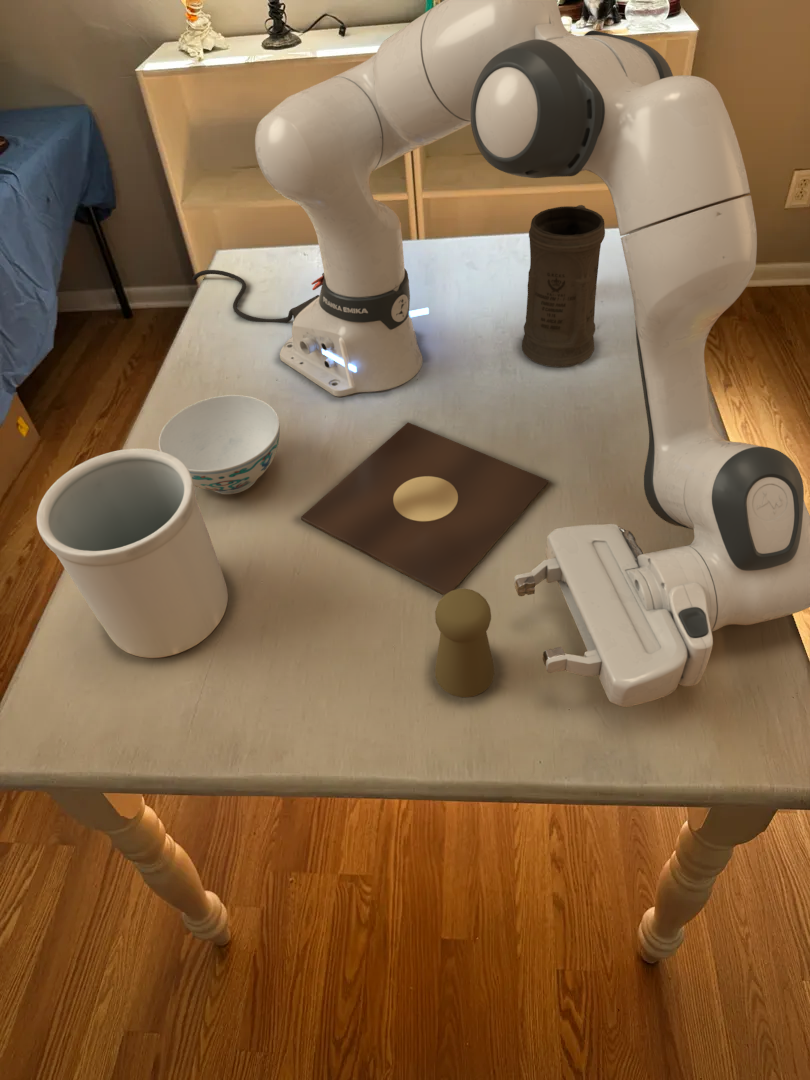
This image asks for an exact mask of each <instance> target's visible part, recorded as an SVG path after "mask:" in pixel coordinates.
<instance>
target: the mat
mask: <svg viewBox="0 0 810 1080" xmlns="http://www.w3.org/2000/svg"><path fill="white" fill-rule="evenodd" d="M549 483H550V480H549V479H546V478H543V477H541V476H539V475H536V474H535V473H532V472H531V471H527V470H525V469H522V468H520V467H517V466H515V465H513V464H510V463H508V462H505V461H503V460H501V459H498V458H496V457H493V456H491V455H488V454H486V453H484V452H481V451H478V450H476V449H474V448H473V447H472V448H471V447H469V446H467V445H464V444H462V443H459V442H458V441H454V440H452V439H450V438H448V437H444V436H442V435H440V434H437V433H435V432H433V431H430V430H428V429H426V428H423V427H420V426H419V425H416V424H413V423H411V422H406V423H405V424H404V425H402V427H401V428H400V429H398V431H396V432H395V433H393V435H392V436H391V437H389V438H388V439H387V440H386V441H385V442H384V443H382V445H380V446H379V447H378V448H377V449H376V450H375V451H374V452H373V453H371V454H370V455H369V456H368V457H367V458H366V459H365V460H364V461H362V462H361V463H360V464H359V465H358V466H356V468H354V469H353V470H352V471H351V472H350V473H348V475H347V476H345V477H344V478H343V479H342V480H341V481H340V482H338V484H337V485H335V486H334V487H333V488H332V489H330V490H329V491H328V492H327V493H326V494H325V495H323V497H321V499H319V500H318V501H317V502H316V503H315V504H314V505H312V506H311V507H310V508H309V509H308V510H307V511H306V512H305V513H304V514H302V515H301V516H300V520H301V521H302V522H304V523H306V524H308V525H310V526H312V527H314V528H316V529H318V530H319V531H321V532H323V533H325V534H327V535H329V536H331V537H333V538H334V539H337V540H338V541H340V542H342V543H344V544H346V545H348V546H350V547H352V548H353V549H356V550H357V551H359V552H361V553H363V554H365V555H367V556H369V557H371V558H373V559H375V560H376V561H378V562H380V563H382V564H384V565H386V566H388V567H389V568H391V569H394V570H395V571H397V572H399V573H401V574H403V575H404V576H407V577H409V578H411V579H413V580H414V581H416V582H418V583H420V584H422V585H424V586H426V587H428V588H430V589H431V590H433V591H435V592H437V593H439V594H441V595H443V596H444V595H445V594H447V593H449V592H450V591H452V590H456V589H457V587H458V586H459V585H460V584H461V583H462V582H463V580H465V578H466V577H467V576H468V575H469V574H470V572H471V571H473V569H474V568H475V567H476V566H477V565H478V563H480V562H481V560H482V559H483V558H484V557H485V556H486V555H487V554H488V553H489V552H490V550H491V549H492V548H493V547H494V546H495V544H496V543H497V542H498V541H499V540H500V539H501V537H503V535H505V533H506V532H507V531H508V530H509V529H510V528H511V527H512V525H514V523H515V522H516V521H517V520H518V519H519V517H520V516H521V515H522V514H523V513H524V512H525V510H526V509H528V508H529V506H530V505H531V504H532V503H533V502H534V501H535V500H536V498H538V496H539V495H540V494H541V492H542V491H543V490H544V489H545V488H546V487H547V486H548V485H549Z"/></svg>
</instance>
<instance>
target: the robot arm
mask: <svg viewBox="0 0 810 1080" xmlns="http://www.w3.org/2000/svg"><path fill="white" fill-rule="evenodd" d="M468 126H471V127H470V128H471V132H472V136H473V139H474V142H475V144H476V147H477V150H479V153H480V154H481V156H482V157H483V158H484V160H486V162H487V163H488V164H489V165H490V166H492V167H493V168H495V169H496V170H499V172H503V173H505V174H508V175H512V176H517V177H521V178H529V179H544V178H558V177H561V178H562V177H575V176H577V175H578V174H579V173H581V172H585V171H587V172H590V173H593V174H594V175H596V176H597V177H599V178H600V179H601V180H602V181H603V182H604V184H605V185H606V187H607V189H608V191H609V193H610V196H611V199H612V203H613V208H614V211H615V217H616V221H617V227H618V231H619V232H618V233H619V236H620V242H621V247H622V251H623V256H624V260H625V264H626V270H627V274H628V275H627V276H628V281H629V286H630V290H631V295H632V302H633V313H634V323H635V324H634V325H635V339H636V349H637V356H638V362H639V372H640V378H641V385H642V391H643V392H642V393H643V397H644V398H643V399H644V406H645V412H646V419H647V426H648V448H647V449H648V450H647V455H646V461H645V466H644V473H643V490H644V494H645V498H646V500H647V502H648V504H649V506H650V508H651V509H652V511H653V512H654V513H655V515H656V516H658V517H659V518H660V519H661V520H662V521H664V522H666V523H668V524H670V525H673V526H676V527H679V528H680V527H681V528H684V529H689V530H692V531H693V535H694V538H693V540H692V542H691V543H690V544H687V545H683V546H677V547H676V546H675V547H671V548H667V549H662V550H656V551H650V552H646V553H644V552H643V550H642V548H641V547H640V546H639V544H638V543H637V541H636V538H635V535H634V534H633V532H632V531H630V530H627V529H625V528H624V527H622V526H620V525H618V524H616V523H607V524H580V525H569V526H562V527H557V528H554V529H553V530H552V531H551V532H550V533H549V534H548V535H547V537H546V542H545V543H546V544H545V556H546V559H544V560H542V561H541V562H540V563H538V565H537V566H535V567H534V568H533V569H531V570H530V571H529V572H525V573H518V574H516V575H515V576H514V577H513V586H514V588H515V591H516V593H517V596H519V597H524V596H530V595H535V593H536V586H538V585H539V584H540V583H541V582H542V583H543V581H545V580H546V583H547V584H550V583H554V582H555V583H556V582H557V584H558V586H559V589H560V591H561V594H562V596H563V598H564V600H565V603H566V606H567V607H568V610H569V612H570V615H571V617H572V619H573V621H574V623H575V626H576V628H577V631H578V633H579V635H580V638H581V640H582V642H583V644H584V646H585V649H586V651H585V652H584V654H583V656H582V655H577V654H572V653H571V654H570V653H565V651H564V649H563V646H558V647H554V648H553V649H551V648H548V649H545V650H544V651H543V652H542V661H543V665H544V667H545V670H546V672H547V673H548V674H552V673H556V672H562V671H565V672H566V673H567V672H568V673H571V674H576V675H579V676H582V677H585V678H588V677H593V676H597V677H598V680H599V681H600V683H601V686H602V688H603V690H604V692H605V694H606V697H607V699H608V701H609V702H610V703H612V704H614V705H617V706H620V707H623V708H628V707H633V706H638V705H641V704H646V703H650V702H653V701H655V700H658V699H663V698H665V697H667V696H669V695H671V694H672V693H674V692H675V691H676V690H677V688H678V686H679V685H680V686H682V687H690V686H695V685H698V684H699V683H700V681H701V680H702V678H703V676H704V674H705V671H706V670H707V668H708V664H709V661H710V658H711V655H712V650H713V645H714V638H713V637H714V636H713V632H715V631H717V630H719V629H721V628H723V627H725V626H730V625H740V626H749V625H754V624H759V623H764V622H767V621H768V622H769V621H771V620H776V619H779V618H783V617H786V616H790V615H793V614H796V613H800V612H802V611H804V610H807V609H809V608H810V512H809V511H808V508H807V505H806V502H805V489H804V482H803V477H802V475H801V473H800V470H799V468H798V466H797V465H796V463H794V461H793V460H792V459H791V458H790V457H789V456H788V455H786V454H785V453H784V452H782V451H780V450H778V449H775V448H772V447H768V446H762V445H758V444H754V443H753V444H752V443H748V442H740V441H731V440H726V439H724V438H723V437H722V436H721V434H720V433H719V432H718V431H717V429H716V428H715V426H714V423H713V421H712V417H711V408H710V399H709V389H708V381H707V372H706V362H705V350H706V349H705V347H706V343H707V339H708V336H709V334H710V332H711V329H712V327H714V325H715V323H716V322H717V321H718V319H719V318H720V316H722V315H723V313H724V312H726V311H727V310H728V309H729V308H730V307H732V305H733V304H734V303H735V302H736V301H737V300H738V299H739V297H740V296H741V295H742V293H743V292H744V291H745V289H746V288H747V286H748V285H749V283H750V281H751V279H752V277H753V275H754V273H755V270H756V265H757V253H758V233H757V223H756V217H755V211H754V205H753V200H752V199H753V198H752V195H750V194H751V190H750V184H749V180H748V175H747V171H746V166H745V163H744V162H745V161H744V158H743V154H742V151H741V148H740V144H739V141H738V138H737V134H736V131H735V128H734V126H733V123H732V121H731V118H730V114H729V112H728V110H727V108H726V105H725V103H724V100H723V98H722V96H721V93H720V92H719V90H718V88H717V87H716V86H715V85H714V84H713V83H711V82H710V80H707V79H705V78H703V77H701V76H695V75H689V74H688V75H682V74H681V75H673V72H672V69H671V67H670V65H669V63H668V62H667V60H666V59H665V58H664V57H663V55H662V54H661V53H660V52H658V51H657V50H656V49H655V48H654V47H651V46H650V45H649V44H646V43H644V42H642V41H640V40H638V39H635V38H634V37H633V38H632V37H629V36H625V35H619V34H613V33H607V32H605V31H604V32H603V31H599V30H595V29H592V30H589V31H587V32H586V33H584V34H583V35H576V34H574V33H571V32H569V30H568V29H566V27H565V25H564V23H563V21H562V15H561V12H560V8H559V5H558V2H557V0H442V1H440V2H439V3H438V4H436V5H435V6H433V7H431V8H430V9H428V10H427V11H426V12H424V13H423V14H421V15H420V16H418V17H417V18H415V19H414V20H412V21H411V22H410V23H408V24H407V25H405V26H403V27H402V28H401V29H398V30H397V31H396V32H395V33H393V34H391V35H390V36H389V37H387V38H386V39H384V40H383V41H382V43H381V44H380V45H379V47H378V49H377V51H376V53H374V54H373V55H372V56H371V57H369V58H367V59H366V60H365V61H363V62H361V63H359V64H356V65H355V66H353V67H351V68H349V69H347V70H345V71H343V72H340V73H338V74H337V75H334V76H332V77H330V78H328V79H326V80H323V81H321V82H318V83H316V84H314V85H311V86H309V87H307V88H305V89H302V90H300V91H298V92H296V93H293V94H290V95H289V96H287V97H286V98H284V100H282V101H281V102H280V103H279V104H277V105H276V106H275V107H274V108H272V109H271V110H270V111H269V112H268V113H267V114H266V115H265V116H263V117H262V118H261V120H260V121H259V122H258V124H257V126H256V129H255V135H254V149H255V150H254V151H255V157H256V161H257V164H258V167H259V169H260V172H261V174H262V175H263V177H264V179H265V181H266V182H267V183H268V184H269V185H270V187H272V189H273V190H274V191H275V192H276V193H278V194H279V195H281V196H282V197H284V198H285V199H287V200H290V201H292V202H294V203H295V204H297V205H299V207H301V208H302V210H303V211H304V212H305V214H306V215H307V216H308V218H309V220H310V222H311V224H312V226H313V228H314V231H315V234H316V239H317V243H318V248H319V253H320V257H321V264H322V268H323V273H322V274H321V276H320V277H318V278H317V279H315V280H314V281H312V282H311V285H313V286H312V291H315V290H317V289H318V288H320V287H321V288H320V293H319V294H316V295H314V296H313V297H311V298H309V299H308V300H306V301H304V302H302V303H300V304H298V305H297V306H295V307H292V308H291V309H290V310H289V311H288V314H287V316H285V317H281V318H263V317H262V318H261V317H258V316H257V317H256V316H253V315H249V314H246V313H244V312H242V311H241V310H240V309H239V308H238V304H239V302H240V301H241V299H242V297H243V295H244V294H245V291H246V290H247V284H246V280H244V279H243V278H242V277H240V276H238V275H236V274H234V273H232V272H228V271H226V270H225V271H224V270H218V269H206V270H201V271H198V272H197V273H195V274H194V275H193V276H192V278H191V279H192V280H194V281H195V280H197V279H199V278H200V277H202V276H206V275H218V276H224V277H228V278H229V279H233V280H235V281H237V282H239V284H241V288H240V290H239V291H238V293H237V295H236V296H235V298H234V300H233V303H232V309H233V312H234V313H235V314H236V315H237V316H239V317H240V318H243V319H245V320H248V321H250V322H255V323H280V324H281V323H283V324H284V323H288V322H290V321H291V320H292V319H293V322H292V325H291V337H290V338H289V339H287V340H286V342H285V343H284V345H283V346H282V347H281V350H280V351H279V359H280V361H281V362H283V363H284V364H286V365H287V366H289V367H290V368H292V369H293V370H294V371H296V372H298V373H299V374H301V375H302V376H304V377H305V378H307V379H308V380H309V381H311V382H313V383H314V384H316V385H317V386H319V387H320V388H322V389H323V390H325V391H326V392H328V393H329V394H331V395H332V396H335V397H346V396H349V395H353V394H356V393H371V392H372V393H373V392H380V391H381V392H382V391H386V390H391V389H393V388H396V387H399V386H402V385H403V384H405V383H407V382H409V381H411V380H412V379H413V378H414V377H416V375H417V374H418V373H419V372H420V370H421V369H422V366H423V362H424V359H423V355H422V352H421V349H420V347H419V344H418V340H417V335H416V331H415V329H414V324H413V321H412V318H414V317H419V316H425V315H429V314H430V309H429V307H424V308H419V309H413V310H411V309H410V304H411V303H410V302H411V292H410V291H411V290H410V279H409V274H408V270H407V269H406V267H405V257H404V245H403V232H402V231H403V230H402V223H401V220H400V217H399V216H398V214H397V213H396V212H395V211H394V210H393V208H391V207H390V206H389V205H388V204H386V203H384V202H382V201H381V200H378V199H374V196H373V192H372V189H371V183H370V180H371V174H372V173H373V172H375V171H376V170H378V169H380V168H382V167H384V166H386V165H387V164H389V163H391V162H393V161H394V160H397V159H398V158H401V157H403V156H405V155H407V154H409V153H411V152H413V151H415V150H417V149H420V148H422V147H424V146H429V145H430V144H433V143H435V142H437V141H439V140H441V139H443V138H444V137H445V138H446V137H447V136H449V135H451V134H453V133H455V132H457V131H460V130H462V129H463V128H466V127H468Z"/></svg>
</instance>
